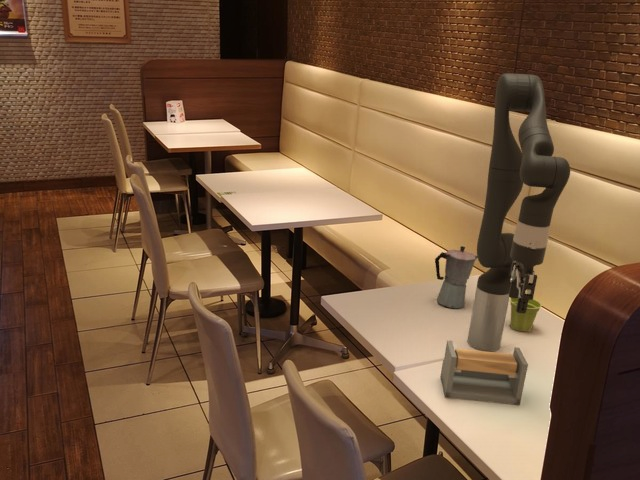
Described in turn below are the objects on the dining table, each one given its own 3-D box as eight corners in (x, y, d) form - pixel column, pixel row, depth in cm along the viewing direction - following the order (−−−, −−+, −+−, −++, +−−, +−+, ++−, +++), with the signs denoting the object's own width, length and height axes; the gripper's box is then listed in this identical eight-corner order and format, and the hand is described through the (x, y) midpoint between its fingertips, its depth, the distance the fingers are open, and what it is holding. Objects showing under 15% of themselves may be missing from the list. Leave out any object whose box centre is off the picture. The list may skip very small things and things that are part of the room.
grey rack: (440, 377, 163) (446, 338, 159) (510, 384, 162) (518, 345, 159) (445, 397, 154) (451, 356, 150) (519, 404, 153) (528, 364, 150)
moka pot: (477, 308, 207) (488, 250, 201) (437, 312, 201) (446, 252, 195) (461, 296, 215) (470, 240, 209) (422, 299, 210) (430, 242, 203)
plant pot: (512, 318, 202) (516, 293, 199) (540, 328, 196) (546, 302, 194) (499, 327, 195) (504, 301, 192) (529, 337, 189) (534, 311, 186)
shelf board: (453, 359, 158) (455, 348, 157) (510, 365, 157) (512, 354, 156) (456, 369, 153) (458, 358, 152) (515, 375, 152) (517, 364, 151)
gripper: (507, 230, 153) (495, 291, 159) (520, 249, 140) (506, 316, 145) (538, 233, 153) (525, 294, 158) (554, 253, 140) (539, 319, 145)
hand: (516, 304), depth 152 cm, fingers open, 8 cm apart
